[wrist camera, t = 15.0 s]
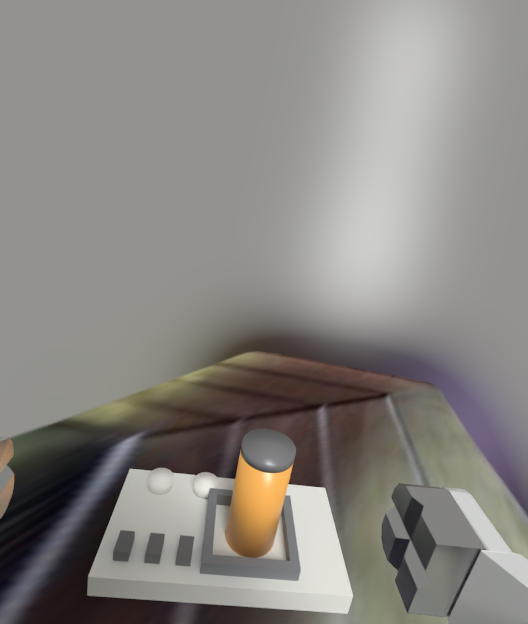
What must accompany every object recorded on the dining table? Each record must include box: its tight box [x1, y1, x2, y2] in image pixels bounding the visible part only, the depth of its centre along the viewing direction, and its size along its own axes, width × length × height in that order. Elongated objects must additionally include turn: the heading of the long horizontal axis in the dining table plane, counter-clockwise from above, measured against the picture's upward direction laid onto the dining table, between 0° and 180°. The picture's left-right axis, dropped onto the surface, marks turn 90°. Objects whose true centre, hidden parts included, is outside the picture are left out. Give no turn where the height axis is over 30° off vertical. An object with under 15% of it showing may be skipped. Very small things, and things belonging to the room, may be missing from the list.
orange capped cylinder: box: [225, 429, 296, 558], centre depth 35 cm, size 4×4×10 cm
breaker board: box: [87, 468, 353, 614], centre depth 38 cm, size 21×12×3 cm, turn 93°
